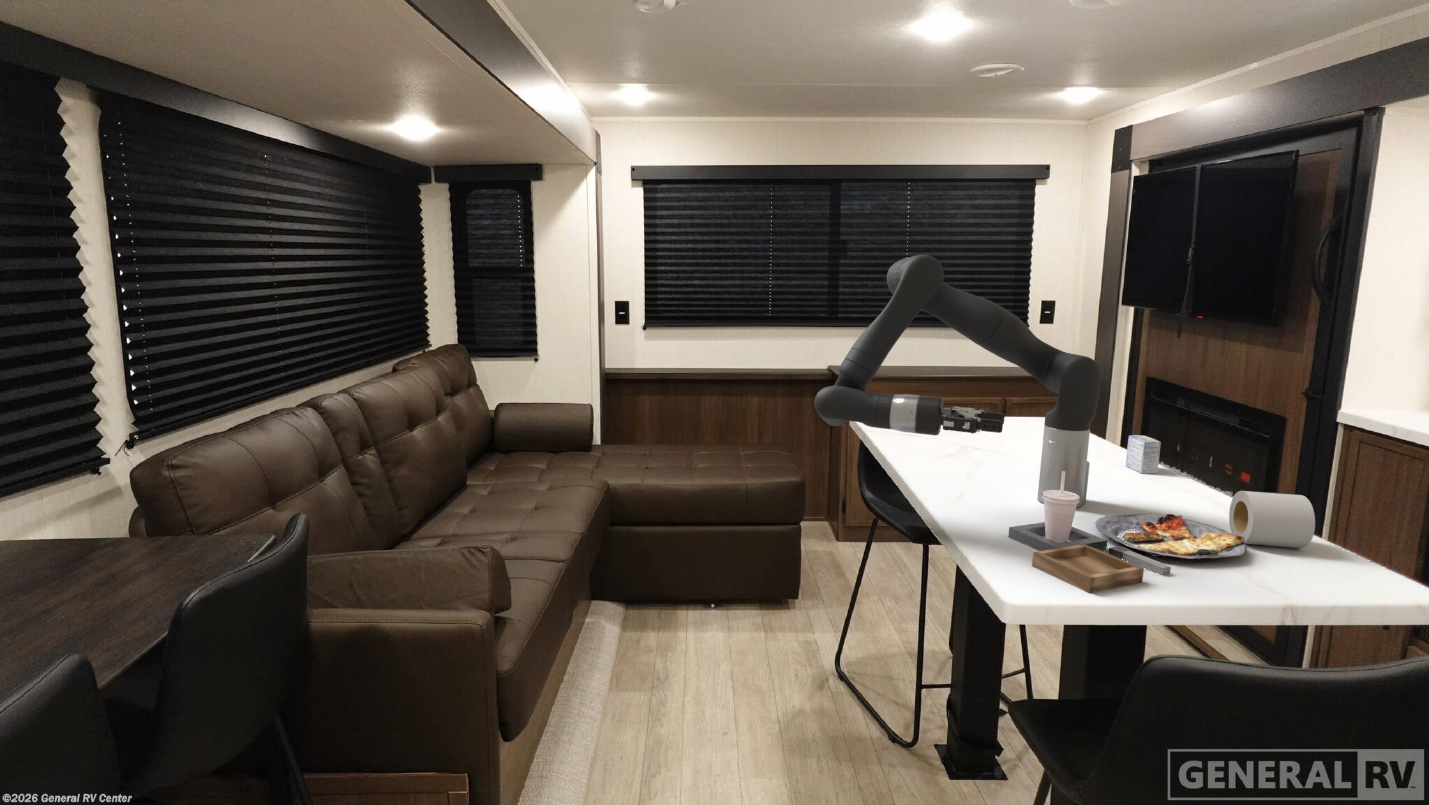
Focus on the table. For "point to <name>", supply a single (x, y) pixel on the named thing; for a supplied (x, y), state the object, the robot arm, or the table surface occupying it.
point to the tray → (1087, 568)
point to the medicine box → (1143, 454)
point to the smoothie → (1059, 512)
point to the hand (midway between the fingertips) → (1003, 423)
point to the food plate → (1172, 536)
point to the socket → (1034, 539)
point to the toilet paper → (1272, 519)
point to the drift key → (1139, 560)
